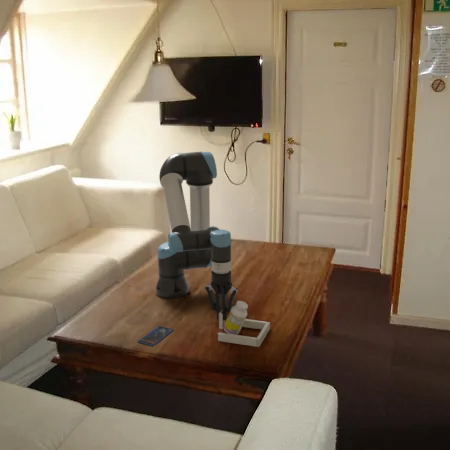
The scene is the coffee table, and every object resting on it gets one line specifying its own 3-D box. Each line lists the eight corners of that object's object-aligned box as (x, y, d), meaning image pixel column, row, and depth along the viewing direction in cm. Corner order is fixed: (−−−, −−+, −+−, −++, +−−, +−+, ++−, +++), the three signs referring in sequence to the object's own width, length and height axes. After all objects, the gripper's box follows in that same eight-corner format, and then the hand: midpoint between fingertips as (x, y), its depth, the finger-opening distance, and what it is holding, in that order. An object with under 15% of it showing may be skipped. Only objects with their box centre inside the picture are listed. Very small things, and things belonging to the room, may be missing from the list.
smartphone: (136, 341, 221) (158, 325, 234) (136, 343, 221) (158, 327, 234) (153, 345, 218) (174, 329, 230) (153, 347, 218) (174, 331, 231)
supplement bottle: (230, 323, 230) (241, 297, 225) (242, 333, 227) (253, 307, 222) (219, 327, 225) (230, 301, 220) (231, 337, 222) (243, 311, 217)
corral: (218, 340, 221) (218, 333, 220) (231, 323, 235) (230, 317, 234) (259, 347, 216) (259, 339, 215) (269, 329, 229) (269, 322, 229)
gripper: (201, 272, 219) (203, 328, 226) (234, 275, 215) (234, 333, 222) (209, 265, 226) (210, 320, 233) (240, 269, 222) (240, 325, 228)
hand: (222, 327), depth 227 cm, fingers closed
